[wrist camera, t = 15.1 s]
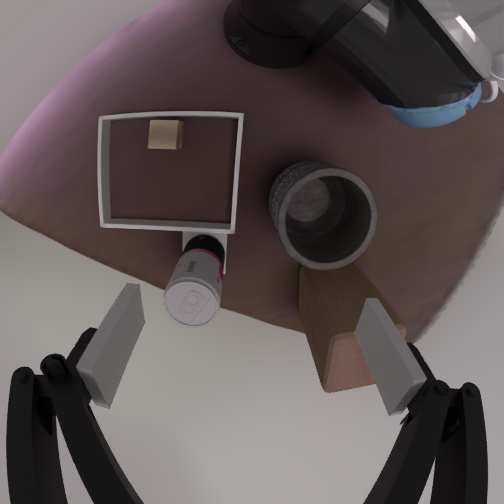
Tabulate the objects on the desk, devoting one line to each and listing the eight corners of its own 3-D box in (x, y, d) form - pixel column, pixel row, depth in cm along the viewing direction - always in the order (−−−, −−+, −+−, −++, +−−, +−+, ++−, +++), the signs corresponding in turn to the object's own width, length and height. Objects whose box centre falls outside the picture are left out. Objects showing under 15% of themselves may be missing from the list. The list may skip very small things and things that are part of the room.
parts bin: (107, 117, 35) (99, 116, 32) (243, 115, 37) (243, 113, 34) (108, 221, 42) (100, 227, 39) (234, 227, 43) (234, 234, 40)
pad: (183, 230, 43) (182, 231, 43) (227, 232, 43) (227, 233, 43) (183, 270, 46) (183, 271, 45) (225, 273, 46) (225, 274, 46)
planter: (326, 243, 45) (355, 280, 33) (256, 223, 43) (262, 257, 31) (352, 173, 41) (392, 189, 29) (279, 147, 39) (297, 151, 27)
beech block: (158, 121, 36) (150, 120, 33) (184, 122, 37) (178, 120, 33) (156, 147, 38) (147, 148, 34) (181, 148, 38) (175, 149, 34)
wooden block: (296, 311, 50) (322, 396, 31) (298, 261, 46) (333, 340, 28) (348, 305, 50) (390, 382, 32) (354, 257, 46) (411, 326, 28)
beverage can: (232, 245, 44) (229, 296, 30) (213, 278, 46) (204, 336, 32) (195, 226, 42) (174, 270, 29) (178, 260, 45) (154, 313, 31)
